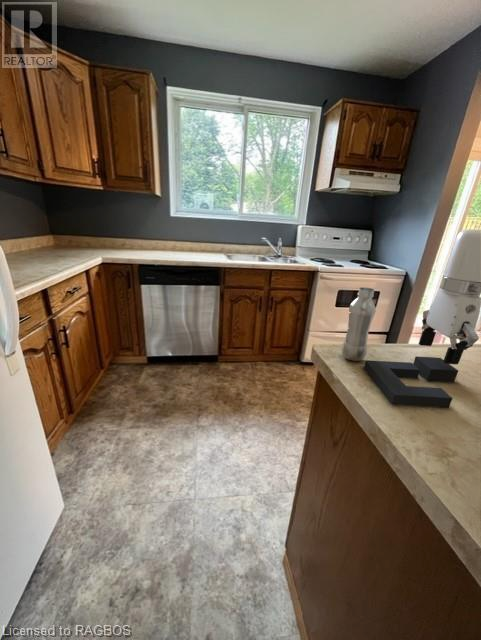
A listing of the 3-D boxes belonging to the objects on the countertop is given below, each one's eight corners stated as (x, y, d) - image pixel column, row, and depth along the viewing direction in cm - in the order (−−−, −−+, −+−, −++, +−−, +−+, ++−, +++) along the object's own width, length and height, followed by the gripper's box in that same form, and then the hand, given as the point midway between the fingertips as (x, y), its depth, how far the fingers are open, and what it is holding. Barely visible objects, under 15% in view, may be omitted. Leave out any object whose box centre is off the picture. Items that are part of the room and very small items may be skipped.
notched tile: (409, 370, 71) (411, 362, 70) (449, 408, 57) (452, 398, 56) (363, 368, 71) (365, 360, 70) (391, 404, 57) (394, 394, 56)
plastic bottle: (370, 361, 75) (387, 291, 68) (351, 365, 72) (366, 292, 65) (353, 351, 80) (367, 285, 73) (334, 354, 78) (347, 286, 71)
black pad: (436, 369, 73) (440, 357, 71) (454, 382, 66) (458, 370, 65) (411, 367, 73) (415, 356, 72) (427, 381, 67) (431, 369, 65)
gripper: (511, 298, 54) (479, 373, 59) (450, 280, 70) (429, 340, 76) (473, 295, 54) (445, 370, 59) (421, 278, 70) (403, 338, 76)
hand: (436, 353), depth 68 cm, fingers open, 9 cm apart
